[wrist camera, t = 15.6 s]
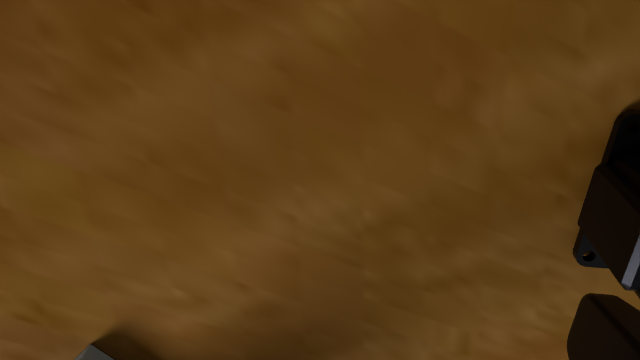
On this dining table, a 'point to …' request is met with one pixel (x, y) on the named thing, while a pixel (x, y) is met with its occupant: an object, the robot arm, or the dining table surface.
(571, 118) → the dining table surface
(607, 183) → the robot arm
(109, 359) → the keyhole plate
